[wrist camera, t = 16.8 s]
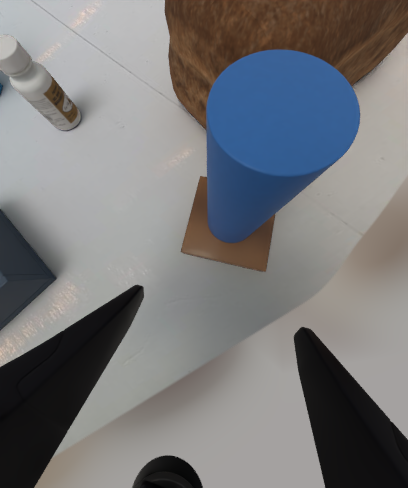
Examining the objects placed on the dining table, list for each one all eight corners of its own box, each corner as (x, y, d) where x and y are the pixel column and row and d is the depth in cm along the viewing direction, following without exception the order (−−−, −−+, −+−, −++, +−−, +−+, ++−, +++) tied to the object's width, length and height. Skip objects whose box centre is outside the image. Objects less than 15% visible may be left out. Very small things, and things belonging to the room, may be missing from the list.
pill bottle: (84, 127, 23) (23, 56, 16) (55, 135, 23) (-20, 67, 15) (79, 104, 24) (19, 25, 16) (52, 111, 24) (-22, 36, 16)
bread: (389, 62, 24) (612, -192, 11) (239, 178, 21) (289, 29, 8) (309, 4, 26) (408, -259, 13) (165, 101, 23) (113, -109, 10)
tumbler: (213, 248, 18) (227, 192, 5) (202, 204, 19) (191, 65, 6) (260, 237, 18) (388, 154, 5) (246, 194, 19) (327, 35, 6)
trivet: (261, 271, 19) (265, 271, 17) (182, 253, 19) (180, 251, 18) (274, 197, 20) (279, 191, 19) (200, 182, 21) (200, 175, 20)
